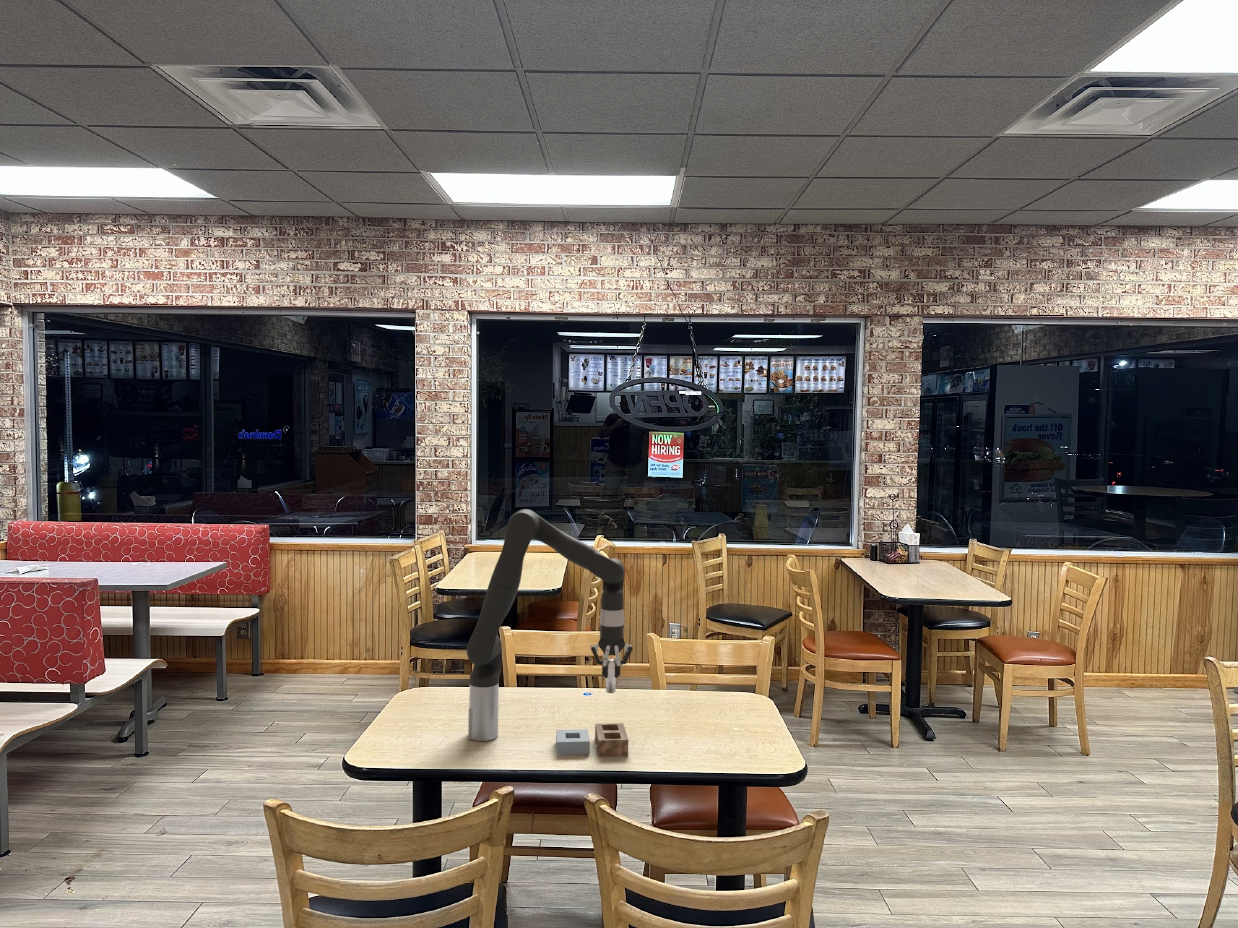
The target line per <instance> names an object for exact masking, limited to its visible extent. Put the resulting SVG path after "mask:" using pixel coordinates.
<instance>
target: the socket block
mask: <svg viewBox="0 0 1238 928" xmlns="http://www.w3.org/2000/svg"><path fill="white" fill-rule="evenodd" d="M590 740H591V739H590V734H589V729H587V728H586V729H582V728H581V729H556V730H555V747H556V748H555V750H556V751H555V752H556V756H574V755H575V756H577V755H578V756H581V755H590V754H591V741H590Z"/></svg>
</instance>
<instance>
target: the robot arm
mask: <svg viewBox="0 0 1238 928" xmlns="http://www.w3.org/2000/svg"><path fill="white" fill-rule="evenodd" d="M532 539H533V540H536V541H538V542H541V543H542V544H544V545H546V546H548V547H550V548H551V549H553V550H554V551H555V552H557V553H558V554H559V555H561V556H562V557H563V558H564V559H566V560H568V561H569V562H571V563H573V564H575V565H576V566H579V567H581V568H583V569H585V570H587V571H589V572H590V573H591V574H593V575H595V576H596V577H597V578H598V579H600V580H601V581H602V592H601V599H600V600H601V602H600V606H601V607H600V614H599V616H600V617H599V641H598V642H597V643H595V644H594V645H593V644H592V645H590V650H591V653H592V654H593V657H594V659H595V663H596V664H597V665H600V666H601V675H602V677H603V678H604V679H606V678H607V666H606V665H607V660H608V659H609V657H610V656H614V659H615V660H616V679H619V677H620V675H621V666H622V665H626V664H628V660H629V658H630V655H632V651H633V646H632V645H631V644H627V643H626V642H625V635H624V634H625V613H624V605H625V604H624V602H625V601H624V600H625V598H624V583H625V566H624V563H623V562H622V561H621V560H620V559H618V558H615V557H613V558H609V557H607V556H605V555H603V554H601V553H600V552H599V550H597V549H596V548H594V547H592V546H591V545H589V544H587V543H585V542H583V541H581V540H579V539H577V538H575V537H573V536H571V535H569V534H567V533H566V532H564V531H562V530H560V529H559V528H558V527H555V526H554V525H552V524H551V523H549V522H548V521H547V520H546V519H544V518H543V517H541V516H540V515H539V514H537V513H536V512H535V511H533V510H531V509H528V508H527V509H526V508H523V509H520V510H518V511H516V512H515V513H513V514H512V515H511V516H510V517H509V519H508V522H507V526H506V531H505V536H504V541H503V545H502V549H501V552H500V554H499V557H498V559H497V562H496V564H495V567H494V569H493V571H492V574H491V577H490V579H489V583H488V586H487V590H486V593H485V595H484V599H483V603H482V605H481V609H480V614H479V616H478V620H477V623H476V624H475V625H476V626H475V628H474V630H473V632H472V634H471V636H470V638H469V640H468V643H467V647H466V655H467V659H468V660H469V662H470V663H471V664H473V668H472V670H471V672H470V674H469V695H468V696H469V707H468V722H467V723H468V725H467V726H468V727H467V728H468V729H467V732H468V733H467V735H468V737H467V738H468V740H469V741H476V742H488V741H493V740H495V739H497V738H498V736H499V700H500V699H499V696H500V695H499V693H500V692H499V691H500V690H499V689H500V687H499V683H500V680H499V679H500V675H501V673H502V672H501V671H502V658H503V657H502V656H503V646H502V640H501V639H500V637H499V635H498V633H499V630H500V627H501V625H502V623H503V621H504V619H506V616H507V615H508V614H509V612H510V610H511V608H512V607H513V604H514V602H515V599H516V597H517V593H518V592H519V591H518V590H519V588H520V584H521V581H522V580H521V579H522V574H523V566H524V564H523V563H524V558H525V556H526V553H527V550H528V547H530V546H529V545H531V541H532ZM599 648H600V650H601V652H602V654H603V655H602V659H600V656H599V654H598V652H599ZM623 649H624V655H623V657H622V658H621V657H620V653H621V652H622V650H623Z"/></svg>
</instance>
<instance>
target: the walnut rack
mask: <svg viewBox="0 0 1238 928" xmlns="http://www.w3.org/2000/svg"><path fill="white" fill-rule="evenodd" d="M625 727H626V726H625V724H624V723H623V722H619V723H618V722H617V723H616V722H615V723H611V722H610V723H595V724H594V729H595V730H594V741H595V745H596V751H597V757H598V758H602V757H607V758H608V757H629V738H628V737H629V736H628V733H627V731H626V728H625Z"/></svg>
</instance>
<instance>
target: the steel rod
mask: <svg viewBox="0 0 1238 928" xmlns="http://www.w3.org/2000/svg"><path fill="white" fill-rule="evenodd" d="M606 666H607V678H605V692H606V693H608V694H615V693H616V692H617V691H616V689H617V687H616V686H617V685H616V684H617V683H616V682H617V681H616V679H617V678H616V658H608V660H607V665H606Z"/></svg>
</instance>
